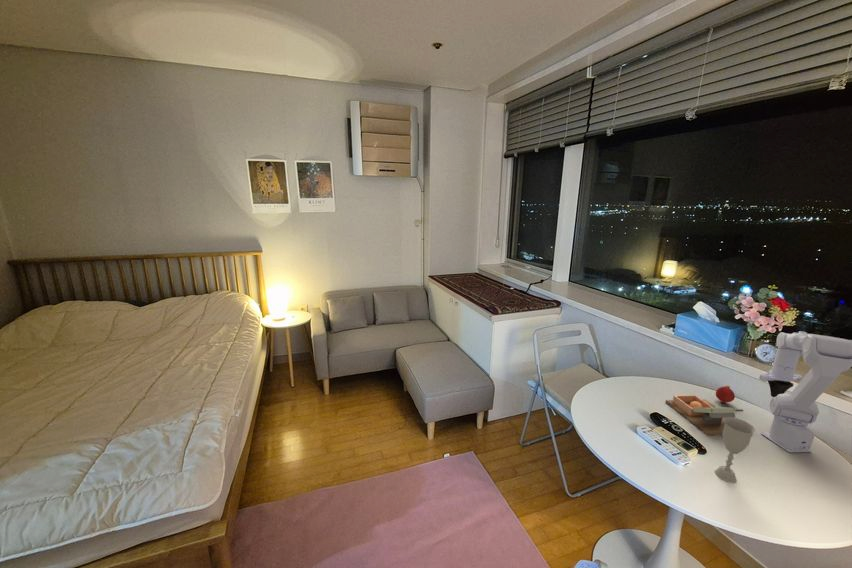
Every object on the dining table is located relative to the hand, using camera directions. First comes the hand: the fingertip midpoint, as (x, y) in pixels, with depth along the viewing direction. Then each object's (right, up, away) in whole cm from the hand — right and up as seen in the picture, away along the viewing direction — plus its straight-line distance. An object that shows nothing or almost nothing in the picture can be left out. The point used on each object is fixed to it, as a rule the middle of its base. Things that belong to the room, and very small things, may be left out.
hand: (775, 397), depth 125 cm
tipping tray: (-21, -6, -3) cm, 22 cm away
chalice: (-41, -16, -24) cm, 50 cm away
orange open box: (-26, -8, +7) cm, 28 cm away
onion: (-8, -7, +13) cm, 17 cm away
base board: (-24, -9, +3) cm, 25 cm away
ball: (-26, -5, +5) cm, 27 cm away
